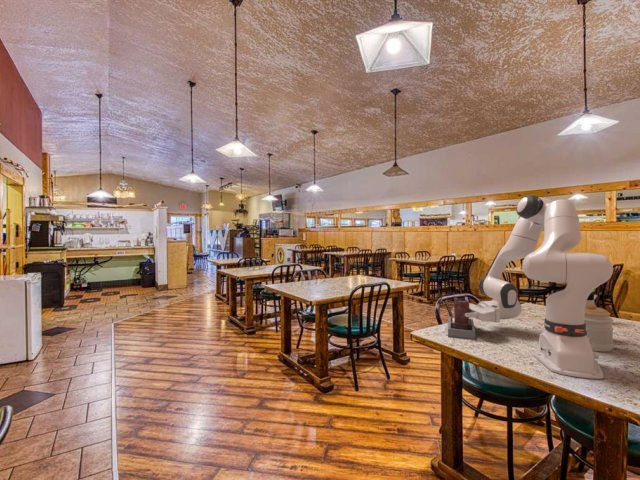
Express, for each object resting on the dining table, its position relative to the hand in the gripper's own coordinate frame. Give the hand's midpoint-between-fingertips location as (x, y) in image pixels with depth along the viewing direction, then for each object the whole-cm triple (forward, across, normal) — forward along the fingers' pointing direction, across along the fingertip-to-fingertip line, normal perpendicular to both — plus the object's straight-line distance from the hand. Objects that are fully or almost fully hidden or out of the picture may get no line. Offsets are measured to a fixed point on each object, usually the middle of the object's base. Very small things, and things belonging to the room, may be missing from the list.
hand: (459, 312), depth 146 cm
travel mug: (-51, +14, +10) cm, 54 cm away
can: (-2, -1, +9) cm, 9 cm away
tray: (-4, -4, +10) cm, 12 cm away
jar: (-42, +25, +10) cm, 50 cm away
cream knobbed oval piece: (-7, -9, +9) cm, 14 cm away
